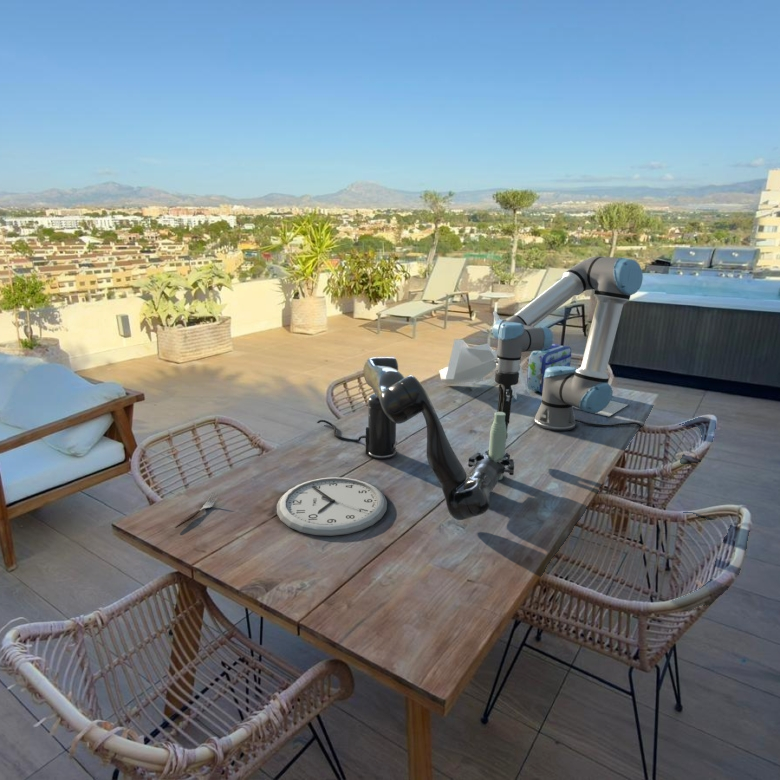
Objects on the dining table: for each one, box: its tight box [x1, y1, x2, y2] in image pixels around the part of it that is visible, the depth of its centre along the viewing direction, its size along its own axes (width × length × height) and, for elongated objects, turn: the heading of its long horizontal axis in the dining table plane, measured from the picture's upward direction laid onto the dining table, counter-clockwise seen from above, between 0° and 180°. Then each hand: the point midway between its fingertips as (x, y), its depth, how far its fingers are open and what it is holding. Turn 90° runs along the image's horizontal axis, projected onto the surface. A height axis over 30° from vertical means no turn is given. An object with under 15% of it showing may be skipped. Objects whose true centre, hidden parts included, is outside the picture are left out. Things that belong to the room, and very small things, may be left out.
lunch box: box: [526, 343, 572, 394], centre depth 247 cm, size 26×11×21 cm, turn 134°
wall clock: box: [276, 476, 388, 537], centre depth 142 cm, size 30×2×30 cm
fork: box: [174, 492, 220, 529], centre depth 137 cm, size 3×16×2 cm, turn 160°
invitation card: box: [573, 400, 629, 418], centre depth 226 cm, size 21×1×15 cm
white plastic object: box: [438, 310, 531, 400], centre depth 245 cm, size 37×45×31 cm
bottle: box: [488, 411, 508, 481], centre depth 158 cm, size 5×5×21 cm
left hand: (498, 454), depth 161 cm, fingers closed on bottle, 4 cm apart
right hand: (500, 437), depth 176 cm, fingers closed on cap, 4 cm apart
